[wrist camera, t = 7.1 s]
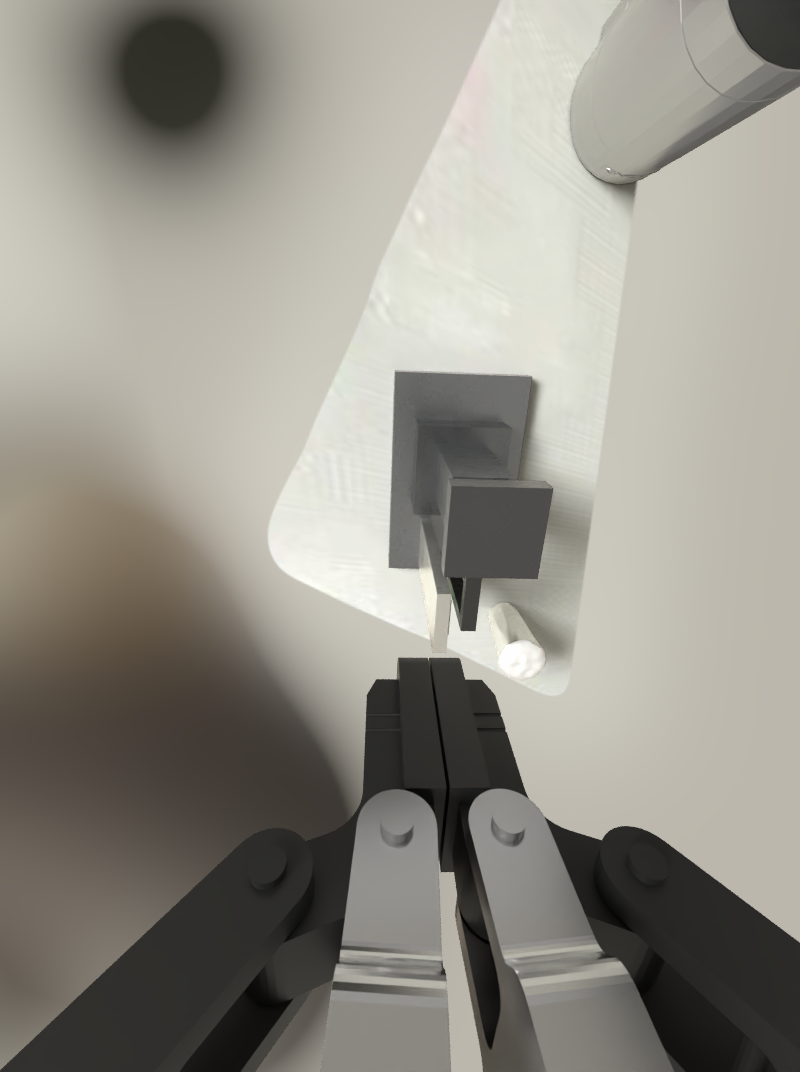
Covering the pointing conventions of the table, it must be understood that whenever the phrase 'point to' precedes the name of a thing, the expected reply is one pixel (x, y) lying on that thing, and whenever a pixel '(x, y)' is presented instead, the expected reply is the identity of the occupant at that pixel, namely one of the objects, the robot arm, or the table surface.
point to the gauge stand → (446, 464)
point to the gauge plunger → (491, 536)
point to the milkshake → (515, 643)
